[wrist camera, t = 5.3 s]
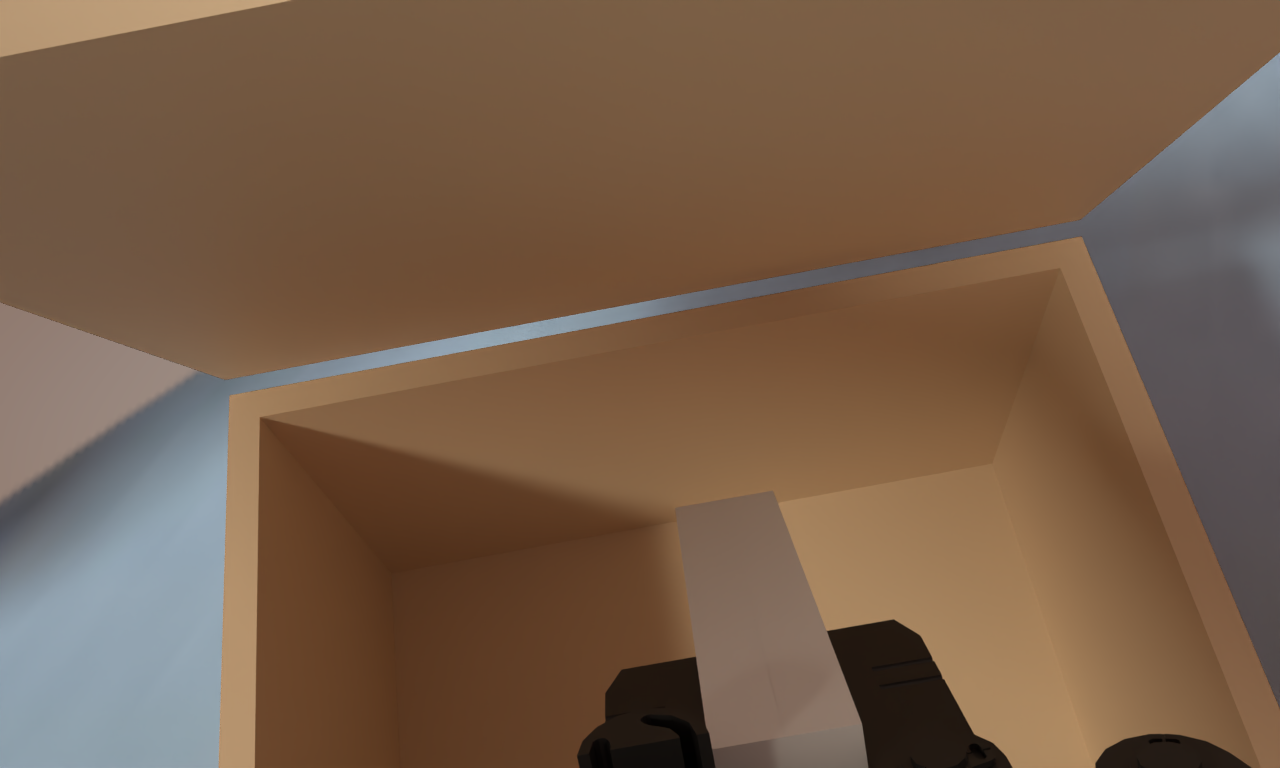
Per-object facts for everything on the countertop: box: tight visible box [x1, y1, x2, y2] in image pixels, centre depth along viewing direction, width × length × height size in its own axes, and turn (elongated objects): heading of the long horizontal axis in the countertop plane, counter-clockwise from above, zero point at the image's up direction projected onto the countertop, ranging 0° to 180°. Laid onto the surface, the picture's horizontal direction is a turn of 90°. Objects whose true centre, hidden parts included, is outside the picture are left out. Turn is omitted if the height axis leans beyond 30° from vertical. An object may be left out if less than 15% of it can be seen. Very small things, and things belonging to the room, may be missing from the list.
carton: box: [219, 236, 1280, 768], centre depth 31 cm, size 18×22×12 cm
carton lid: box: [0, 0, 1280, 380], centre depth 21 cm, size 18×22×1 cm
